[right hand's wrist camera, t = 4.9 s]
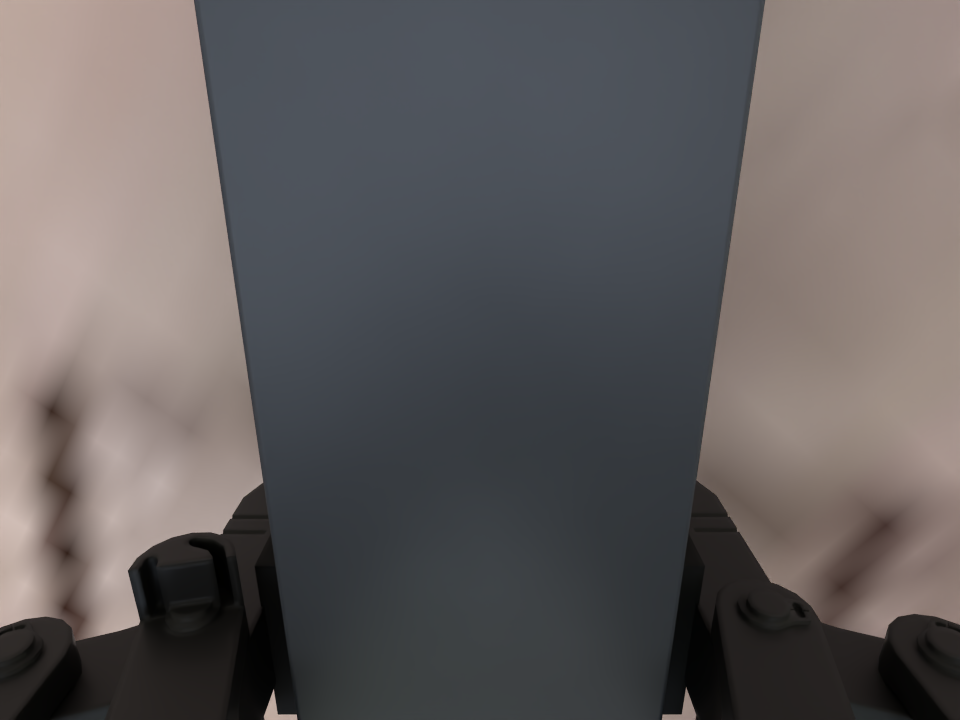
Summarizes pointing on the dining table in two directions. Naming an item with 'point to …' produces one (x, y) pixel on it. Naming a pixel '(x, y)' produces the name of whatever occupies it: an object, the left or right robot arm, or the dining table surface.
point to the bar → (479, 333)
